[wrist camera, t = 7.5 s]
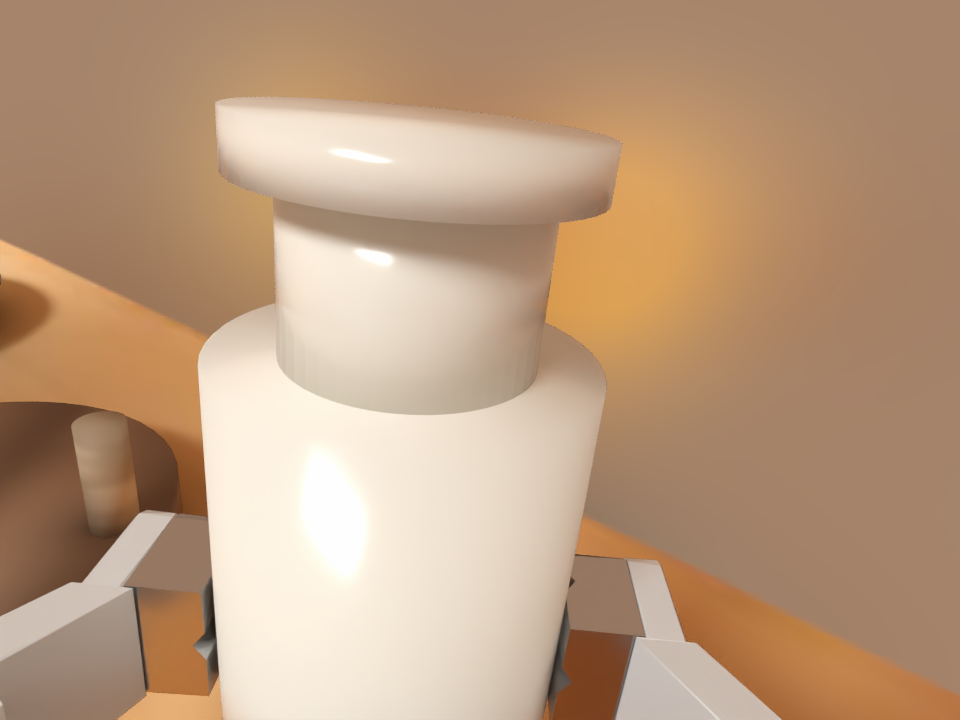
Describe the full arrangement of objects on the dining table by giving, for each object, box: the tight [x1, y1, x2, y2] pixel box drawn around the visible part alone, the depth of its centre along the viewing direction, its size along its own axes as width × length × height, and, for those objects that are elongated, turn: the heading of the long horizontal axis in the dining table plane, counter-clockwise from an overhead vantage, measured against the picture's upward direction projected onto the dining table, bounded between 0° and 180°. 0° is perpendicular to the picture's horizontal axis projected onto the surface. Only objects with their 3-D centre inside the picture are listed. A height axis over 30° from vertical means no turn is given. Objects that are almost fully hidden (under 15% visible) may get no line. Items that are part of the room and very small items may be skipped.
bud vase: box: [198, 97, 622, 720], centre depth 10 cm, size 5×5×15 cm
